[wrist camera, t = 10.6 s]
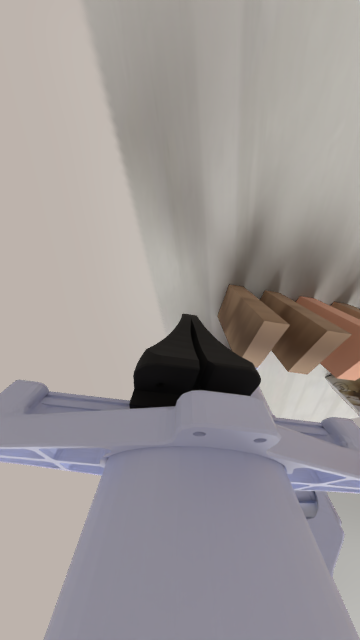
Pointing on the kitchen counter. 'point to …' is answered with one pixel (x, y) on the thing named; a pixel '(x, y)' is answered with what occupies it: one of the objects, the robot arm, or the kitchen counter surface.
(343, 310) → the domino
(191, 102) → the kitchen counter surface
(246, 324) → the domino
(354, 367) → the domino
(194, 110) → the kitchen counter surface
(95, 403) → the robot arm
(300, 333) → the domino
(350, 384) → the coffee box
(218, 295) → the kitchen counter surface
